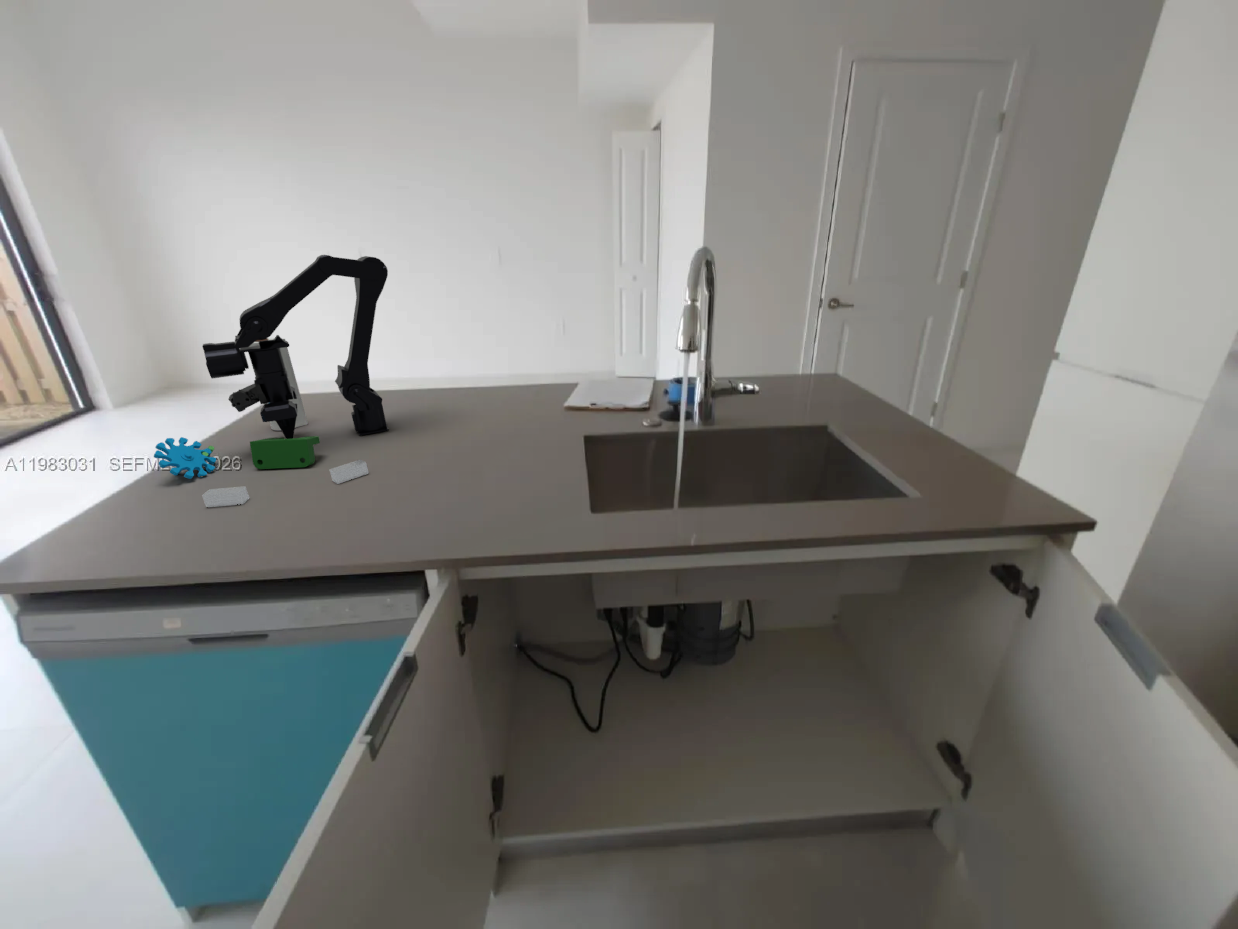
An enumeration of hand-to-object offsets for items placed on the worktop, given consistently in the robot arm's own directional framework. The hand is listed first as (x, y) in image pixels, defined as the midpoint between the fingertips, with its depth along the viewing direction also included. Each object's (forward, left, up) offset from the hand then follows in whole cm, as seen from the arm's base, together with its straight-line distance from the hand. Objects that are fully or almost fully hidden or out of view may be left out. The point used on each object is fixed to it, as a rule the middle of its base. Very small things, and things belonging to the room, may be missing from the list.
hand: (290, 439), depth 122 cm
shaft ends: (0, +26, -2) cm, 26 cm away
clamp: (0, +11, -2) cm, 11 cm away
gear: (+17, +6, -2) cm, 19 cm away
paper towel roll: (+1, -15, -2) cm, 15 cm away
